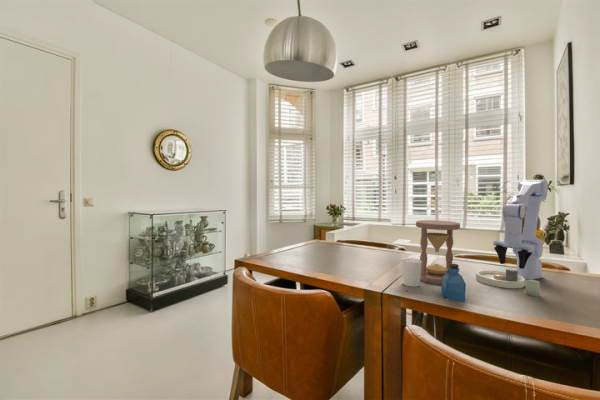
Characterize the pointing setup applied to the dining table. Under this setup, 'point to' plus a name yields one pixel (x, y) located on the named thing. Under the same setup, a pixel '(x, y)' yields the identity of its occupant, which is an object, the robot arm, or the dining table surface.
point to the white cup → (411, 272)
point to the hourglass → (437, 240)
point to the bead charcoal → (511, 275)
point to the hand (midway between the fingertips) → (512, 265)
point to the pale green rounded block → (532, 287)
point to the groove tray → (498, 279)
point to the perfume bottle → (453, 284)
